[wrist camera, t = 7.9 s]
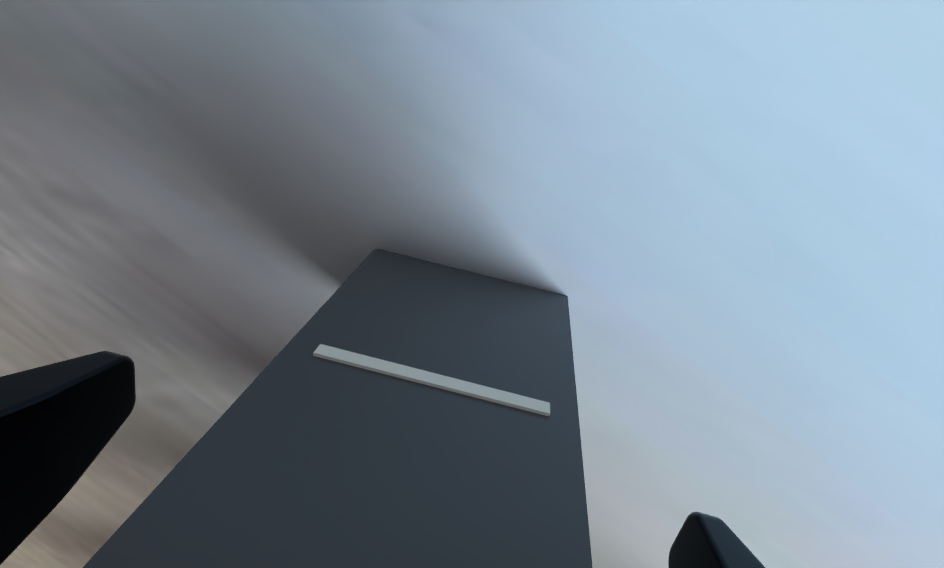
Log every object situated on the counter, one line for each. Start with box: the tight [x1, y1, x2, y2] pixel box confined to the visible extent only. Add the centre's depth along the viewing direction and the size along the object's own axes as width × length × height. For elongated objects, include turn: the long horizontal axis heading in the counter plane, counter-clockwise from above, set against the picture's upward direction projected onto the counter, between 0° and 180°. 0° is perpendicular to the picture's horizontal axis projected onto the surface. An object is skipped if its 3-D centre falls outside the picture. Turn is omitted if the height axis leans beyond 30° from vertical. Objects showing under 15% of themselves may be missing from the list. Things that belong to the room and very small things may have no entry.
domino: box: [83, 249, 592, 568], centre depth 9 cm, size 2×5×10 cm, turn 78°
